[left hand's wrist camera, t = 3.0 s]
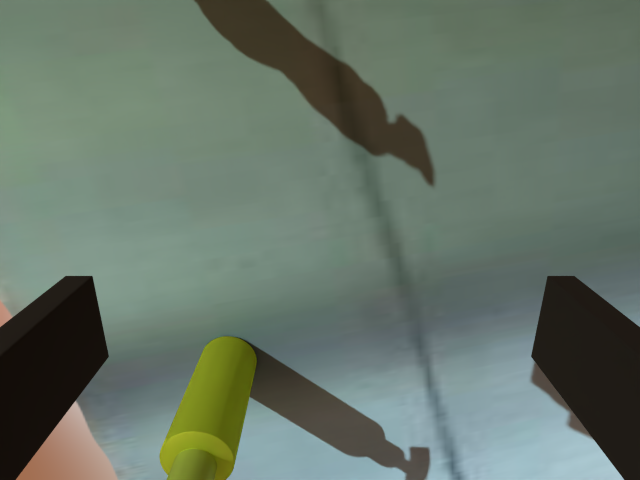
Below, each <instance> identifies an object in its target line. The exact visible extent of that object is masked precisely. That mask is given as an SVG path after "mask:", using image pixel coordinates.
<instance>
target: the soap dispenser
mask: <svg viewBox="0 0 640 480" xmlns="http://www.w3.org/2000/svg"><path fill="white" fill-rule="evenodd" d="M256 364H257V358H256V354H255V352H254V350H253V349H252V347H251V346H250V345H249V344H248V343H246V342H245V341H243V340H241V339H239V338H236V337H230V336H225V337H219V338H216V339H214V340H212V341H211V342H209V343H208V344H207V345H206V346H205V348H204V350H203V352H202V354H201V357H200V359H199V361H198V364H197V366H196V369H195V371H194V373H193V376H192V378H191V380H190V383H189V385H188V387H187V390H186V392H185V394H184V397H183V399H182V401H181V404H180V406H179V408H178V411H177V413H176V415H175V418H174V420H173V422H172V425H171V427H170V429H169V432H168V434H167V436H166V439H165V441H164V443H163V446H162V448H161V451H160V463H161V465H162V468H163V469H164V471H165V472H166V473H167V475H168V478H167V480H226V479H227V478H228V477H229V476H230V474H231V473H232V471H233V468H234V464H235V459H236V455H237V450H238V446H239V441H240V437H241V432H242V428H243V423H244V419H245V414H246V410H247V405H248V401H249V396H250V392H251V387H252V383H253V378H254V374H255V369H256Z"/></svg>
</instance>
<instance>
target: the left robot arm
mask: <svg viewBox="0 0 640 480" xmlns="http://www.w3.org/2000/svg"><path fill="white" fill-rule="evenodd" d="M108 357H109V355H108V350H107V346H106V341H105V336H104V331H103V326H102V321H101V316H100V311H99V306H98V301H97V296H96V292H95V287H94V282H93V277H92V276H65V277H64V278H63V279H61V280H60V281H59V282H58V283H56V284H55V285H54V286H52V287H51V288H50V289H49V290H47V291H46V292H45V293H43V294H42V295H41V296H40V297H38V298H37V299H36V300H35V301H33V302H32V303H31V304H29V305H28V306H27V307H26V308H24V309H23V310H22V311H20V312H19V313H18V314H17V315H15V316H14V317H13V318H11V319H10V320H9V321H8V322H6V323H5V324H4V325H3V326H1V327H0V480H16V478H17V477H18V476H19V474H20V473H21V472H22V471H23V469H24V468H25V467H26V465H27V464H28V463H29V461H30V460H31V459H32V457H33V456H34V455H35V453H36V452H37V451H38V449H39V448H40V447H41V445H42V444H43V443H44V441H45V440H46V439H47V437H48V436H49V435H50V434H51V432H52V431H53V430H54V428H55V427H56V426H57V424H58V423H59V422H60V420H61V419H62V418H63V416H64V415H65V414H66V412H67V411H68V410H69V408H70V407H71V406H72V404H73V403H74V402H75V401H76V399H77V398H78V397H79V395H80V394H81V393H82V391H83V390H84V389H85V387H86V386H87V385H88V383H89V382H90V381H91V379H92V378H93V377H94V375H95V374H96V373H97V371H98V370H99V369H100V367H101V366H102V365H103V364H104V362H105V361H106V360H107V358H108ZM531 357H532V358H533V360H534V361H535V362H536V364H537V365H538V366H539V367H540V369H541V370H542V371H543V373H544V374H545V375H546V377H547V378H548V379H549V381H550V382H551V383H552V385H553V386H554V387H555V389H556V390H557V391H558V393H559V394H560V395H561V397H562V398H563V399H564V401H565V402H566V403H567V404H568V406H569V407H570V408H571V410H572V411H573V412H574V414H575V415H576V416H577V418H578V419H579V420H580V422H581V423H582V424H583V426H584V427H585V428H586V430H587V431H588V432H589V434H590V435H591V436H592V437H593V439H594V440H595V441H596V443H597V444H598V445H599V447H600V448H601V449H602V451H603V452H604V453H605V455H606V456H607V457H608V459H609V460H610V461H611V463H612V464H613V465H614V467H615V468H616V469H617V471H618V472H619V473H620V474H621V476H622V477H623V478H624V480H640V327H639V326H637V325H636V324H635V323H634V322H632V321H631V320H630V319H629V318H627V317H626V316H625V315H623V314H622V313H621V312H620V311H618V310H617V309H616V308H614V307H613V306H612V305H611V304H609V303H608V302H607V301H605V300H604V299H603V298H602V297H600V296H599V295H598V294H597V293H595V292H594V291H593V290H591V289H590V288H589V287H588V286H586V285H585V284H584V283H582V282H581V281H580V280H579V279H577V278H576V277H575V276H548V277H547V282H546V287H545V292H544V296H543V301H542V306H541V311H540V316H539V321H538V326H537V331H536V336H535V341H534V346H533V350H532V355H531Z"/></svg>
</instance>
